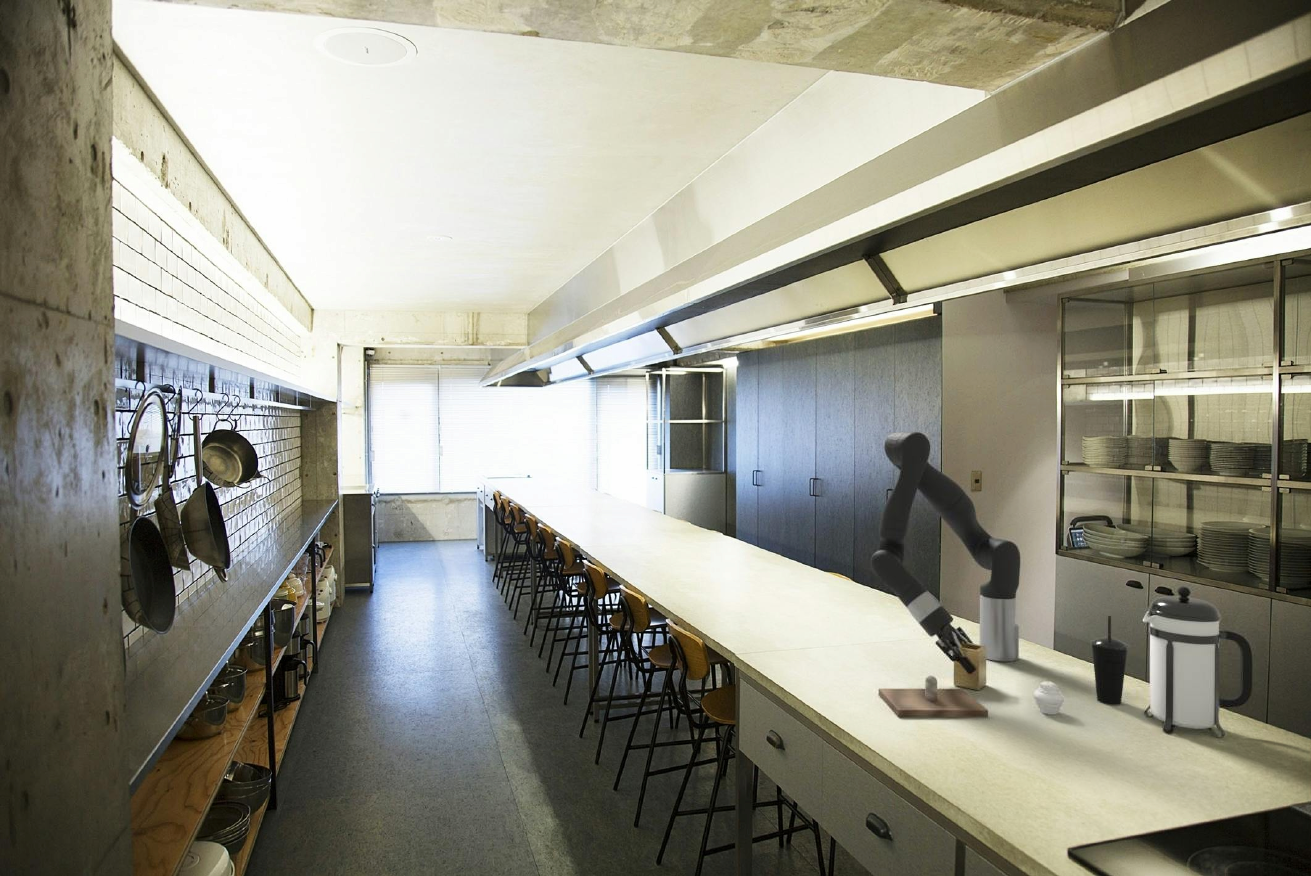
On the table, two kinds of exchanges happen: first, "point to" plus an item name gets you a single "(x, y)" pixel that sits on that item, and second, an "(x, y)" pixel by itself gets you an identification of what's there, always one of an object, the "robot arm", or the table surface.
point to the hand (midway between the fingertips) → (977, 668)
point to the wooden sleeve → (978, 659)
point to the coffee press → (1190, 663)
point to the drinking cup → (1109, 667)
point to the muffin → (1048, 698)
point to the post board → (932, 702)
